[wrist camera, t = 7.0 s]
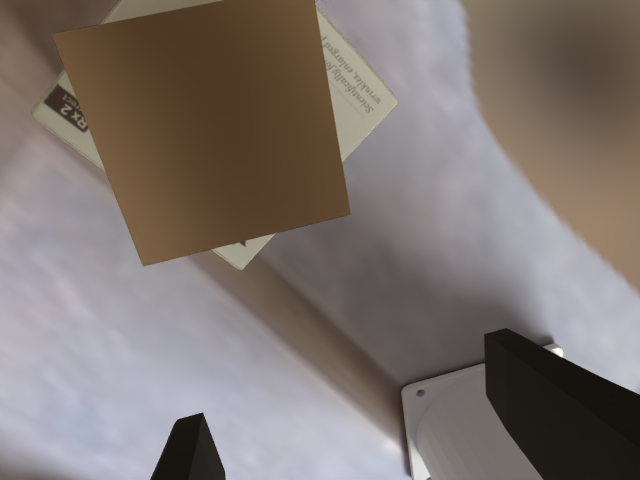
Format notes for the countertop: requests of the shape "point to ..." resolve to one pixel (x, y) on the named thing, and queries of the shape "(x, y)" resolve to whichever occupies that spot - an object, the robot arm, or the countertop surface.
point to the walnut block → (211, 122)
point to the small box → (344, 82)
